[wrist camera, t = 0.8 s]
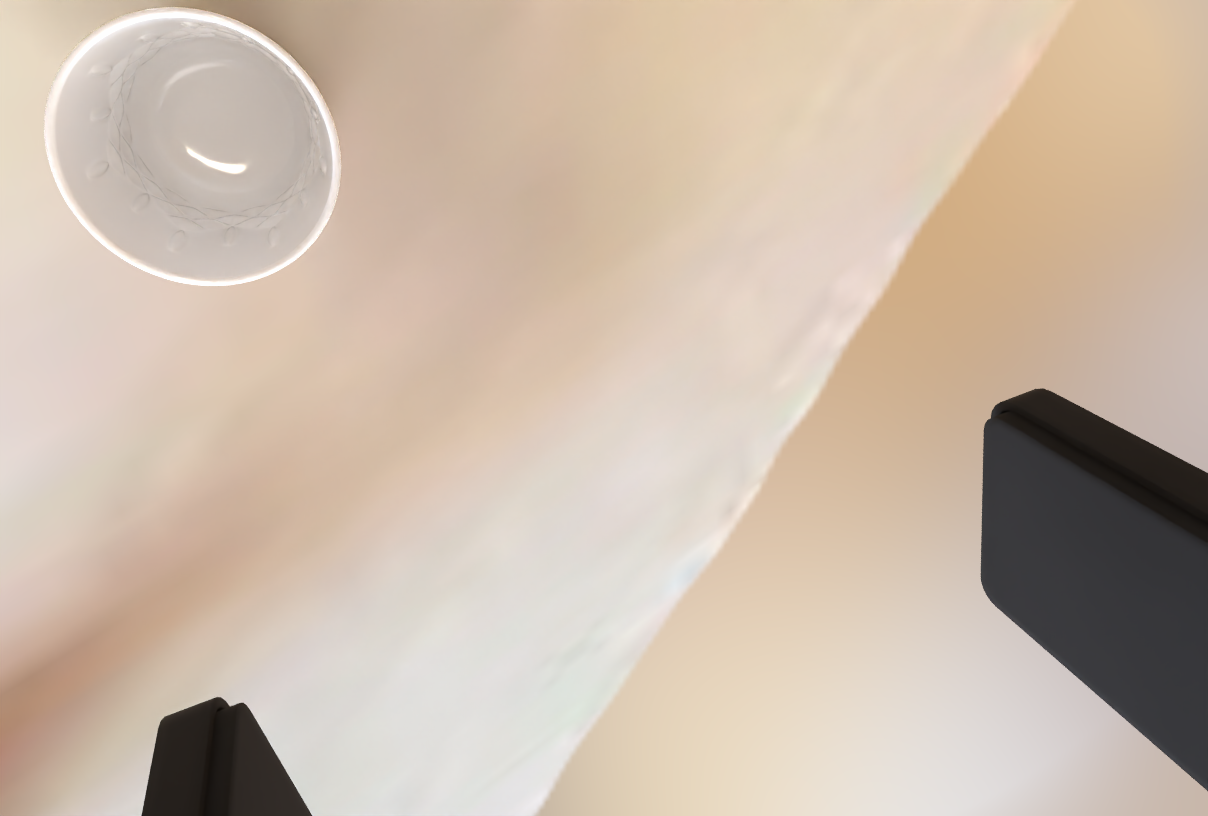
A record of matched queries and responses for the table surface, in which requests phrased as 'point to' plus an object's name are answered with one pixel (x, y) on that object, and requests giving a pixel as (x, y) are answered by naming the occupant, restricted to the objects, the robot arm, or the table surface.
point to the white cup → (192, 146)
